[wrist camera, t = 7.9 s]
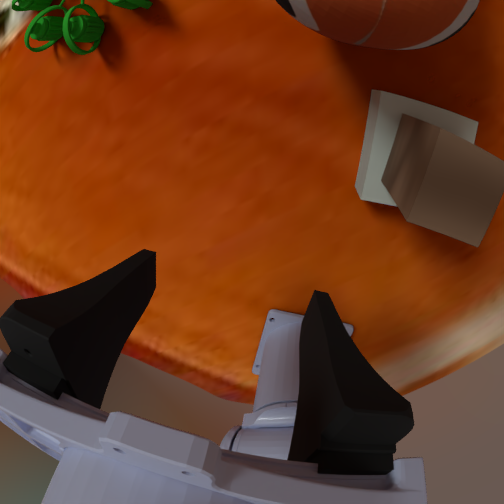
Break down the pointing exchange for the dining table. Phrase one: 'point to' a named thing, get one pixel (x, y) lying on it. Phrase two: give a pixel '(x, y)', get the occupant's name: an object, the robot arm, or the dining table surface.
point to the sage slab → (384, 131)
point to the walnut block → (443, 180)
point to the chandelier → (68, 23)
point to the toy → (383, 20)
